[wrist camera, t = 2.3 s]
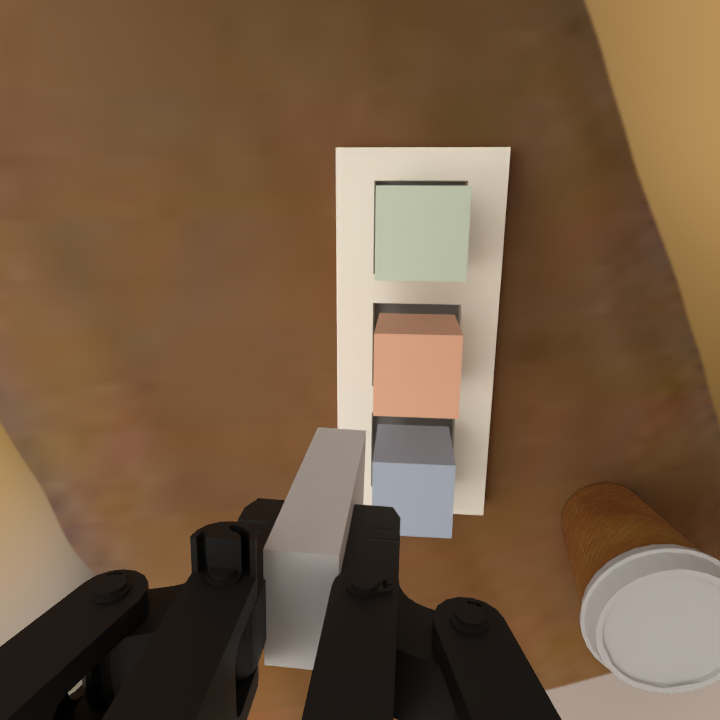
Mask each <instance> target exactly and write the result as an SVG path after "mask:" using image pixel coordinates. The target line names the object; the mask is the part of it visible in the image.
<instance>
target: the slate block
mask: <svg viewBox="0 0 720 720" xmlns="http://www.w3.org/2000/svg"><path fill="white" fill-rule="evenodd" d="M455 470H456V464H455V458H454V453H453V447H452V442H451V436H450V430H449V427H445V426H418V425H391V424H378V426H377V433H376V440H375V448H374V455H373V462H372V505H373V506H387V507H393V508H394V509H395V511H396V512H397V514H398V515H399V517H400V518H401V520H400V536H415V537H434V538H452V523H453V505H454V488H455Z"/></svg>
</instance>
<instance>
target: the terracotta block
mask: <svg viewBox="0 0 720 720" xmlns="http://www.w3.org/2000/svg"><path fill="white" fill-rule="evenodd" d="M462 349H463V334H462V331H461V329H460V326H459V324H458V322H457V319H456V317H455V315H444V314H396V313H379V317H378V320H377V324H376V328H375V332H374V376H373V416H390V417H418V418H446V419H458V418H459V401H460V384H461V366H462Z"/></svg>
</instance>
